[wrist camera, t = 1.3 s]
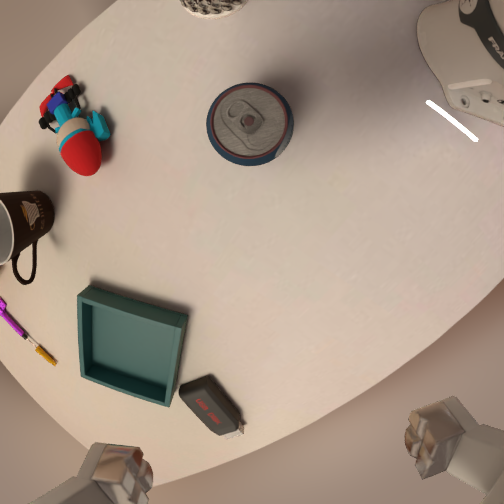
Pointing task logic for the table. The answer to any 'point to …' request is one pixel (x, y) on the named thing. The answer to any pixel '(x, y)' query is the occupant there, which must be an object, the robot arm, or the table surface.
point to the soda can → (250, 124)
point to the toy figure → (74, 129)
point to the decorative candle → (212, 7)
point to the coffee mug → (23, 226)
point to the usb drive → (212, 407)
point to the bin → (129, 344)
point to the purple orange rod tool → (22, 332)
